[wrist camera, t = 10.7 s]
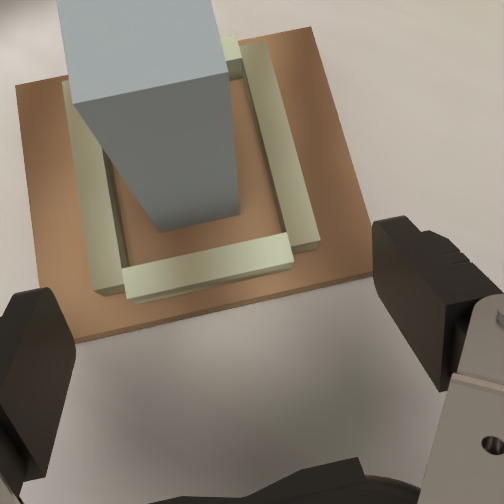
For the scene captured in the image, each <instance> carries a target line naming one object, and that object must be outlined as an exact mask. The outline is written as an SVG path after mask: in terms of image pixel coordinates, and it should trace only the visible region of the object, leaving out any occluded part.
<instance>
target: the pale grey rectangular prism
mask: <svg viewBox="0 0 504 504" xmlns="http://www.w3.org/2000/svg"><path fill="white" fill-rule="evenodd" d="M57 7H58V13H59V19H60V26H61V32H62V39H63V45H64V51H65V58H66V64H67V70H68V77H69V83H70V89H71V96H72V102H73V105H74V106H75V108H76V109H77V111H78V112H79V114H80V115H81V117H82V118H83V120H84V121H85V123H86V124H87V126H88V127H89V129H90V130H91V132H92V133H93V135H94V136H95V138H96V139H97V141H98V142H99V144H100V145H101V146H102V148H103V149H104V151H105V152H106V154H107V155H108V157H109V158H110V160H111V161H112V163H113V164H114V166H115V167H116V169H117V170H118V172H119V173H120V175H121V176H122V178H123V179H124V181H125V182H126V183H127V185H128V186H129V188H130V189H131V191H132V192H133V194H134V195H135V197H136V198H137V200H138V201H139V203H140V204H141V206H142V207H143V209H144V210H145V212H146V213H147V215H148V216H149V218H150V219H151V221H152V222H153V223H154V225H155V226H156V228H157V229H158V231H159V232H160V233H161V232H165V231H170V230H174V229H179V228H183V227H188V226H192V225H197V224H201V223H206V222H210V221H215V220H219V219H224V218H228V217H233V216H237V215H241V213H240V202H239V190H238V178H237V166H236V155H235V143H234V131H233V119H232V108H231V96H230V84H229V72H228V68H227V64H226V60H225V56H224V52H223V48H222V44H221V40H220V36H219V32H218V28H217V24H216V20H215V16H214V12H213V8H212V4H211V0H57Z"/></svg>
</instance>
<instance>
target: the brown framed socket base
mask: <svg viewBox="0 0 504 504" xmlns="http://www.w3.org/2000/svg"><path fill="white" fill-rule="evenodd" d="M220 40H221V44H222V48H223V52H224V56H225V60H226V64H227V68H228V72H229V84H230V96H231V108H232V119H233V131H234V143H235V155H236V166H237V178H238V190H239V202H240V213H241V215H237V216H233V217H228V218H224V219H219V220H215V221H210V222H206V223H201V224H197V225H192V226H188V227H183V228H179V229H174V230H170V231H165V232H161V233H160V232H159V231H158V229H157V228H156V226H155V225H154V223H153V222H152V221H151V219H150V218H149V216H148V215H147V213H146V212H145V210H144V209H143V207H142V206H141V204H140V203H139V201H138V200H137V198H136V197H135V195H134V194H133V192H132V191H131V189H130V188H129V186H128V185H127V183H126V182H125V181H124V179H123V178H122V176H121V175H120V173H119V172H118V170H117V169H116V167H115V166H114V164H113V163H112V161H111V160H110V158H109V157H108V155H107V154H106V152H105V151H104V149H103V148H102V146H101V145H100V144H99V142H98V141H97V139H96V138H95V136H94V135H93V133H92V132H91V130H90V129H89V127H88V126H87V124H86V123H85V121H84V120H83V118H82V117H81V115H80V114H79V112H78V111H77V109H76V108H75V106H74V105H73V102H72V96H71V89H70V83H69V77H68V75H65V76H60V77H55V78H50V79H45V80H40V81H35V82H30V83H25V84H20V85H15V88H16V97H17V105H18V113H19V121H20V130H21V138H22V146H23V154H24V162H25V171H26V179H27V187H28V195H29V204H30V212H31V220H32V228H33V237H34V245H35V253H36V261H37V269H38V278H39V286H40V288H43V287H48V288H50V289H51V290H52V292H53V293H54V295H55V298H56V300H57V302H58V304H59V306H60V309H61V311H62V313H63V315H64V317H65V320H66V322H67V324H68V326H69V328H70V331H71V333H72V335H73V338H74V342H75V344H77V343H81V342H85V341H90V340H94V339H98V338H103V337H107V336H112V335H116V334H120V333H125V332H129V331H134V330H138V329H142V328H147V327H151V326H155V325H160V324H164V323H169V322H173V321H177V320H182V319H186V318H191V317H195V316H199V315H204V314H208V313H212V312H217V311H221V310H226V309H230V308H234V307H239V306H243V305H247V304H252V303H256V302H261V301H265V300H269V299H274V298H278V297H283V296H287V295H291V294H296V293H300V292H304V291H309V290H313V289H318V288H322V287H326V286H331V285H335V284H340V283H344V282H348V281H353V280H357V279H361V278H366V277H370V276H373V258H372V227H371V223H370V220H369V217H368V213H367V210H366V207H365V203H364V200H363V197H362V194H361V190H360V187H359V184H358V180H357V177H356V174H355V170H354V167H353V164H352V161H351V157H350V154H349V151H348V147H347V144H346V141H345V137H344V134H343V131H342V127H341V124H340V121H339V118H338V114H337V111H336V108H335V104H334V101H333V98H332V94H331V91H330V88H329V85H328V81H327V78H326V75H325V71H324V68H323V65H322V61H321V58H320V55H319V52H318V48H317V45H316V42H315V38H314V35H313V32H312V28H311V27H306V28H301V29H296V30H291V31H286V32H281V33H276V34H271V35H266V36H261V37H256V38H251V39H246V40H241V41H238V40H237V36H236V34H235V35H230V36H225V37H220Z"/></svg>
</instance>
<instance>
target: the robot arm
mask: <svg viewBox="0 0 504 504" xmlns="http://www.w3.org/2000/svg"><path fill="white" fill-rule="evenodd" d="M372 258H373V279H374V284H375V288H376V291H377V293H378V296H379V298H380V299H381V301H382V302H383V304H384V306H385V307H386V309H387V310H388V312H389V314H390V315H391V317H392V318H393V320H394V321H395V323H396V325H397V326H398V328H399V329H400V331H401V333H402V334H403V336H404V337H405V339H406V340H407V342H408V344H409V345H410V347H411V348H412V350H413V352H414V353H415V355H416V356H417V358H418V359H419V361H420V363H421V364H422V366H423V367H424V369H425V371H426V372H427V374H428V375H429V377H430V379H431V380H432V382H433V383H434V385H435V386H436V388H437V390H438V391H439V392H444V391H447V395H446V399H445V402H444V406H443V410H442V414H441V417H440V421H439V425H438V428H437V432H436V436H435V440H434V443H433V447H432V451H431V455H430V458H429V462H428V466H427V469H426V473H425V477H424V481H423V484H422V488H421V489H420V488H418V487H416V486H413V485H411V484H408V483H405V482H402V481H399V480H395V479H391V478H386V477H380V476H370V475H364V472H363V469H362V467H361V464H360V461H359V459H358V457H355V458H351V459H346V460H342V461H337V462H333V463H328V464H324V465H320V466H315V467H311V468H306V469H302V470H299V471H297V472H295V473H293V474H291V475H289V476H287V477H285V478H283V479H281V480H279V481H277V482H275V483H273V484H271V485H269V486H267V487H265V488H263V489H261V490H259V491H257V492H255V493H253V494H251V495H249V496H247V497H243V498H223V497H191V496H181V497H176V498H172V499H167V500H163V501H158V502H154V503H150V504H504V293H503V292H502V291H501V290H500V289H499V288H498V287H497V286H496V285H495V284H494V283H493V282H492V281H491V280H490V279H489V278H488V277H487V276H486V275H485V274H484V273H483V272H482V271H480V270H479V269H478V268H477V267H476V266H475V265H474V264H473V263H470V260H469V259H468V258H467V257H466V256H465V255H464V254H463V253H460V250H459V249H458V248H457V247H456V246H455V245H454V244H453V243H452V242H451V241H450V240H449V239H447V238H445V237H443V236H441V235H439V234H436V233H434V232H432V231H430V230H428V231H423V232H421V231H420V230H419V229H418V228H417V227H416V226H415V225H414V224H413V223H412V222H411V221H410V220H409V219H408V218H407V217H406V216H398V217H393V218H388V219H383V220H378V221H374V223H373V225H372ZM75 359H76V348H75V342H74V338H73V335H72V333H71V331H70V328H69V326H68V324H67V322H66V320H65V317H64V315H63V313H62V311H61V309H60V306H59V304H58V302H57V300H56V298H55V295H54V293H53V292H52V290H51V289H50V288H48V287H43V288H38V289H33V290H28V291H24V292H19V293H15V294H14V295H13V296H12V298H11V300H10V302H9V304H8V305H7V307H6V309H5V311H4V313H3V315H2V317H0V504H25V503H24V502H23V500H22V499H21V498H20V496H19V495H20V491H21V488H22V485H23V482H26V481H30V480H35V479H39V478H44V477H46V473H47V469H48V465H49V461H50V457H51V453H52V449H53V445H54V442H55V438H56V434H57V430H58V426H59V422H60V418H61V414H62V410H63V406H64V403H65V399H66V395H67V391H68V387H69V383H70V379H71V375H72V371H73V367H74V364H75Z"/></svg>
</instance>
